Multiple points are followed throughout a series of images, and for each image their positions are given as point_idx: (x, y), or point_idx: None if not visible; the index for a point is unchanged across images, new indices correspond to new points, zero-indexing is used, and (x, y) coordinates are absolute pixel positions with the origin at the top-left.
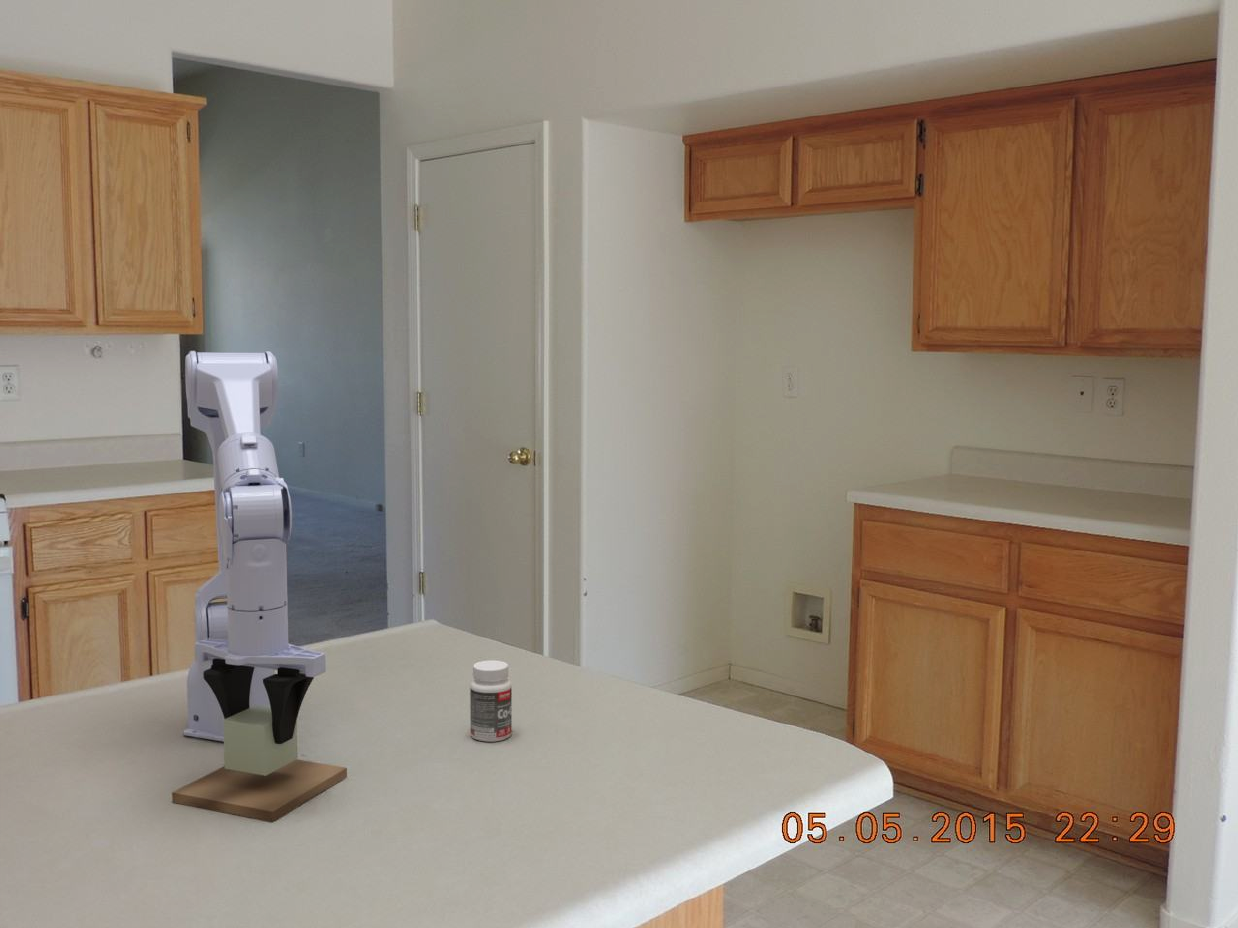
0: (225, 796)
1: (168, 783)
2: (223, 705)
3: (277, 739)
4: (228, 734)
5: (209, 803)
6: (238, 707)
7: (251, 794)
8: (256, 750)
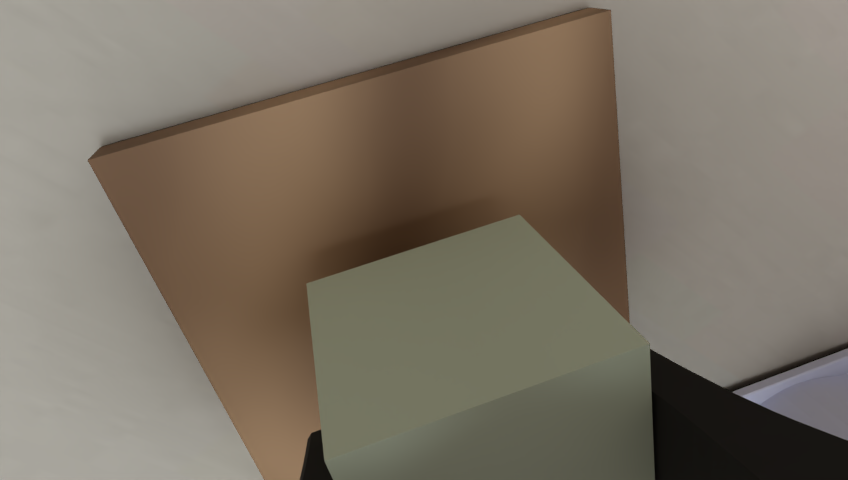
0: (398, 125)
1: (721, 105)
2: (741, 422)
3: (318, 445)
4: (567, 305)
5: (421, 61)
6: (679, 473)
7: (331, 202)
8: (367, 330)
